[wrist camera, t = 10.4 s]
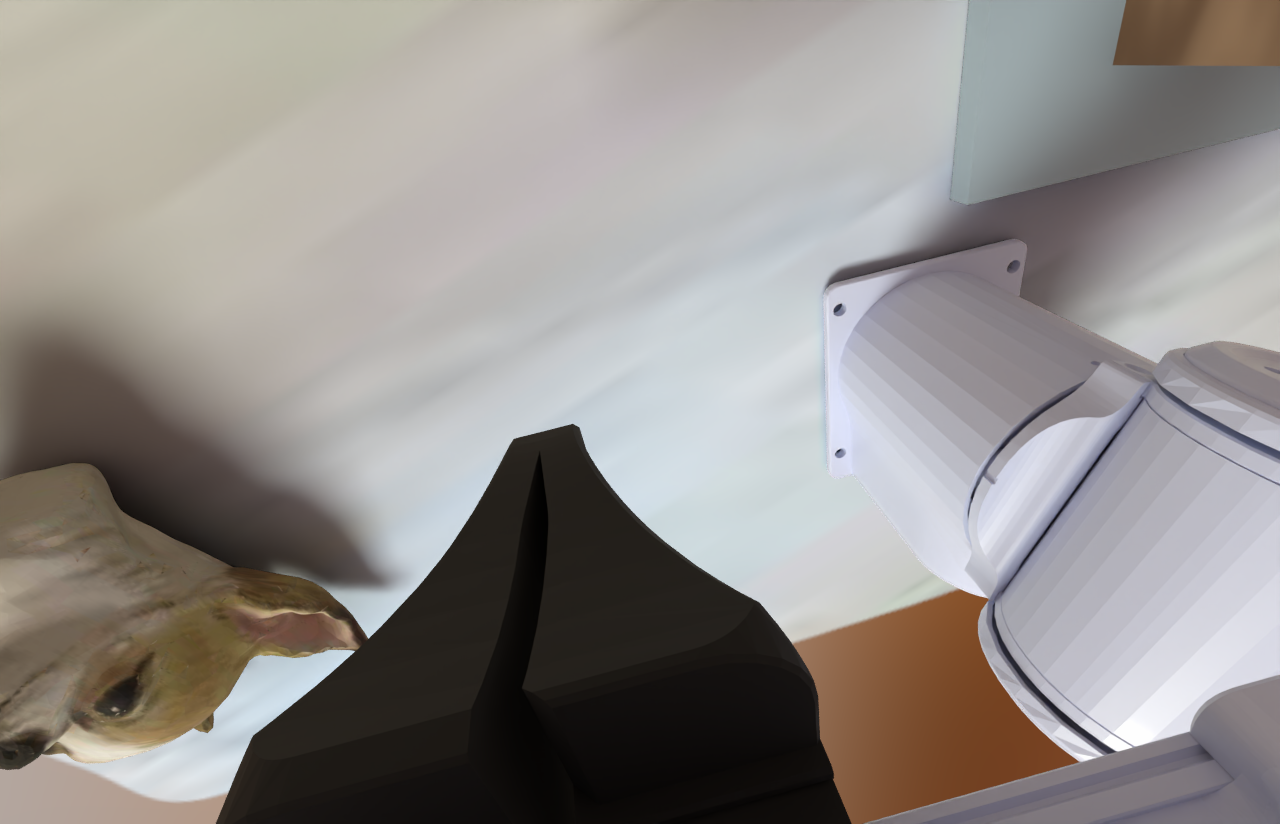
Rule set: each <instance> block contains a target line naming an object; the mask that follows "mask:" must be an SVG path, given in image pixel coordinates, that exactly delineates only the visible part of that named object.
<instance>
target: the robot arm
mask: <svg viewBox="0 0 1280 824" xmlns="http://www.w3.org/2000/svg"><path fill="white" fill-rule="evenodd" d="M1026 255H1027V245H1026V243H1025V242H1023V241H1020V240H1018V239H1010V240H1005V241H1001V242H997V243H993V244H989V245H985V246H981V247H977V248H973V249H969V250H965V251H961V252H957V253H953V254H949V255H945V256H941V257H937V258H933V259H929V260H924V261H920V262H916V263H912V264H908V265H904V266H900V267H896V268H892V269H888V270H884V271H880V272H876V273H872V274H868V275H864V276H860V277H856V278H852V279H847V280H843V281H839V282H835V283H833V284H831V285H830V286H829V287H828V288H827V289H826V290H825V292H824V296H823V309H824V355H825V401H826V448H827V471H828V473H829V474H830V475H831V476H832V477H833V478H836V479H838V478H843V477H847V476H851V475H853V476H854V477H855V478H856V480H857V481H858V482H859V484H860V485H861V486H862V487H863V489H864V490H865V491H866V493H867V494H868V495H869V496H870V498H871V499H872V500H873V502H874V503H875V504H876V506H877V507H878V508H879V509H880V511H881V512H882V513H883V515H884V516H885V517H886V519H887V520H888V521H889V522H890V524H891V525H892V526H893V528H894V529H895V530H896V532H897V533H898V534H899V535H900V537H901V538H902V539H903V541H904V542H905V543H906V545H907V546H908V547H909V548H910V550H911V551H912V552H913V554H914V555H915V556H916V557H917V559H918V560H919V561H920V562H921V563H922V564H923V565H924V566H925V567H926V568H927V569H928V570H930V571H931V572H932V573H933V574H935V575H936V576H938V577H939V578H941V579H942V580H944V581H946V582H947V583H949V584H951V585H953V586H955V587H957V588H959V589H961V590H964V591H966V592H969V593H972V594H974V595H978V596H981V597H986V598H988V599H989V601H988V602H987V604H986V605H985V606H984V608H983V609H982V610H981V614H980V618H979V621H978V635H979V639H980V642H981V646H982V649H983V652H984V654H985V656H986V658H987V660H988V663H989V665H990V666H991V668H992V670H993V671H994V673H995V675H996V676H997V678H998V679H999V681H1000V683H1001V684H1002V685H1003V687H1004V688H1005V689H1006V691H1007V692H1008V693H1009V695H1010V696H1011V698H1012V699H1013V700H1014V701H1015V703H1016V704H1017V705H1018V707H1019V708H1020V709H1021V710H1022V711H1023V712H1024V714H1025V715H1026V716H1028V718H1029V719H1030V720H1031V721H1032V722H1033V723H1034V724H1035V725H1036V726H1037V727H1038V728H1039V729H1040V730H1041V731H1042V732H1043V733H1044V734H1045V735H1047V736H1048V737H1049V738H1050V739H1051V740H1052V741H1054V742H1055V743H1056V744H1057V745H1058V746H1060V747H1061V748H1062V749H1063V750H1065V751H1066V752H1067V753H1069V754H1070V755H1071V756H1073V757H1074V758H1076V759H1077V760H1078V761H1080V762H1079V763H1076V764H1072V765H1069V766H1066V767H1062V768H1058V769H1055V770H1052V771H1048V772H1044V773H1041V774H1037V775H1033V776H1030V777H1026V778H1023V779H1019V780H1016V781H1013V782H1009V783H1005V784H1002V785H998V786H995V787H991V788H988V789H984V790H981V791H977V792H973V793H970V794H966V795H963V796H959V797H956V798H952V799H949V800H945V801H942V802H938V803H935V804H931V805H928V806H924V807H921V808H917V809H913V810H910V811H907V812H903V813H899V814H896V815H892V816H889V817H885V818H882V819H878V820H875V821H871V822H868V823H864V824H1280V353H1279V352H1275V351H1271V350H1267V349H1263V348H1259V347H1255V346H1250V345H1245V344H1240V343H1234V342H1227V341H1214V342H1210V343H1206V344H1202V345H1198V346H1194V347H1191V348H1179V349H1174V350H1170V351H1168V352H1167V353H1166V354H1165V355H1164V356H1163V358H1162V359H1161V361H1160V362H1159V363H1158V364H1157V363H1155V362H1153V361H1151V360H1149V359H1147V358H1145V357H1143V356H1140V355H1138V354H1136V353H1134V352H1132V351H1130V350H1128V349H1126V348H1124V347H1122V346H1120V345H1118V344H1116V343H1114V342H1112V341H1109V340H1107V339H1105V338H1103V337H1101V336H1099V335H1097V334H1095V333H1093V332H1091V331H1089V330H1087V329H1085V328H1083V327H1081V326H1078V325H1076V324H1074V323H1072V322H1070V321H1068V320H1066V319H1064V318H1062V317H1060V316H1058V315H1056V314H1054V313H1052V312H1050V311H1047V310H1045V309H1043V308H1041V307H1039V306H1037V305H1035V304H1033V303H1031V302H1029V301H1027V300H1025V299H1023V298H1021V297H1019V295H1020V289H1021V284H1022V278H1023V272H1024V266H1025V261H1026ZM1012 261H1013V263H1012V266H1011V267H1010V268H1009V269H1007V267H1008V265H1009V264H1010V263H1011V262H1012ZM838 304H842V306H841V309H840V310H839V311H838V312H836V313H833V310H834V308H835V306H836V305H838ZM839 449H842V450H841V451H840V452H838V453H836V451H837V450H839ZM818 706H819V705H818V695H817V691H816V687H815V683H814V680H813V678H812V676H811V674H810V672H809V670H808V668H807V667H806V665H805V663H804V662H803V660H802V658H801V657H800V655H799V654H798V652H797V650H796V649H795V648H794V646H793V645H792V643H791V642H790V640H789V639H788V638H787V636H786V635H785V634H784V632H783V631H782V630H781V628H780V627H779V626H778V624H777V623H776V622H775V621H774V620H773V618H772V617H771V616H770V615H769V613H768V612H767V611H766V610H765V609H764V607H763V606H762V605H761V604H760V603H759V602H757V601H755V600H753V599H752V598H750V597H748V596H746V595H744V594H742V593H740V592H738V591H737V590H735V589H733V588H731V587H730V586H728V585H726V584H725V583H723V582H721V581H719V580H718V579H716V578H715V577H713V576H712V575H710V574H709V573H707V572H705V571H704V570H702V569H701V568H699V567H698V566H696V565H695V564H693V563H692V562H691V561H689V560H688V559H687V558H685V557H684V556H683V555H681V554H680V553H679V552H678V551H676V550H675V549H674V548H672V547H671V546H670V545H668V544H667V543H666V542H664V541H663V540H662V539H661V538H660V537H659V536H657V535H656V534H655V533H654V532H653V531H652V530H651V529H650V528H648V527H647V526H646V525H645V524H644V523H643V522H642V521H641V520H640V519H639V518H638V517H637V516H636V515H635V514H634V513H633V512H632V511H631V510H630V509H629V508H628V506H627V505H626V504H625V503H624V502H623V501H622V500H621V499H620V497H619V496H618V495H617V494H616V493H615V491H614V490H613V489H612V488H611V486H610V485H609V484H608V483H607V481H606V480H605V478H604V477H603V476H602V474H601V473H600V471H599V470H598V468H597V467H596V465H595V464H594V462H593V461H592V459H591V457H590V456H589V454H588V452H587V450H586V447H585V444H584V441H583V438H582V434H581V431H580V428H579V427H577V426H575V425H574V424H571V425H567V426H563V427H559V428H555V429H551V430H547V431H543V432H539V433H535V434H531V435H527V436H524V437H520V438H516V439H513V441H512V443H511V444H510V446H509V448H508V450H507V452H506V453H505V455H504V457H503V459H502V461H501V463H500V465H499V467H498V469H497V471H496V473H495V474H494V476H493V478H492V480H491V482H490V484H489V485H488V487H487V489H486V491H485V492H484V494H483V496H482V498H481V499H480V501H479V503H478V505H477V506H476V508H475V510H474V511H473V513H472V515H471V516H470V518H469V519H468V521H467V522H466V524H465V525H464V527H463V528H462V530H461V531H460V533H459V534H458V536H457V537H456V539H455V540H454V542H453V543H452V545H451V546H450V548H449V549H448V550H447V552H446V553H445V554H444V556H443V557H442V558H441V560H440V561H439V562H438V563H437V565H436V566H435V567H434V568H433V570H432V571H431V572H430V573H429V575H428V576H427V577H426V578H425V579H424V581H423V582H422V583H421V584H420V585H419V587H418V588H417V589H416V590H415V591H414V592H413V593H412V594H411V595H410V596H409V597H408V598H407V600H406V601H405V602H404V603H403V604H402V605H401V606H400V607H399V608H398V609H397V610H396V611H395V612H394V613H393V615H392V616H391V617H390V618H389V619H388V620H387V621H386V622H385V623H384V624H383V625H382V626H381V627H380V628H379V629H378V630H377V631H376V632H375V633H374V634H373V635H372V636H371V637H370V638H369V639H368V640H367V641H366V642H365V643H364V644H363V645H362V646H360V647H359V648H358V649H357V650H356V651H355V652H354V653H353V654H352V655H351V656H350V657H349V658H347V659H346V660H345V661H344V662H343V663H342V664H341V665H340V666H339V667H337V668H336V669H335V670H334V671H333V672H332V673H331V674H329V675H328V676H327V677H326V678H325V679H324V680H322V681H321V682H320V683H319V684H318V685H317V686H315V687H314V688H313V689H312V690H310V691H309V692H308V693H307V694H305V695H304V696H303V697H302V698H300V699H299V700H298V701H297V702H295V703H294V704H293V705H292V706H290V707H289V708H288V709H287V710H285V711H284V712H283V713H282V714H280V715H279V716H278V717H277V718H275V719H274V720H273V721H272V722H270V723H269V724H268V725H267V726H265V727H264V728H263V729H261V730H260V731H259V732H257V733H256V734H255V735H253V737H252V739H251V741H250V743H249V746H248V748H247V750H246V752H245V755H244V757H243V759H242V762H241V764H240V766H239V768H238V771H237V773H236V776H235V778H234V781H233V783H232V785H231V788H230V790H229V793H228V795H227V798H226V800H225V803H224V805H223V808H222V810H221V812H220V815H219V817H218V820H217V822H216V824H851V821H850V819H849V817H848V814H847V812H846V809H845V807H844V805H843V802H842V800H841V797H840V795H839V793H838V790H837V788H836V786H835V783H834V781H833V778H834V773H833V769H832V766H831V763H830V761H829V759H828V756H827V754H826V752H825V749H824V747H823V744H822V742H821V740H820V730H819V707H818Z"/></svg>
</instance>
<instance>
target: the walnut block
mask: <svg viewBox="0 0 1280 824" xmlns="http://www.w3.org/2000/svg"><path fill="white" fill-rule="evenodd" d="M1113 65H1157V66H1280V0H1126V4H1125V9H1124V13H1123V18H1122V23H1121V28H1120V32H1119V37H1118V42H1117V47H1116V51H1115V56H1114V61H1113Z"/></svg>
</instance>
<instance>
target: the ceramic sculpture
mask: <svg viewBox="0 0 1280 824" xmlns="http://www.w3.org/2000/svg"><path fill="white" fill-rule="evenodd" d="M367 640H368V638H367V636H366V634H365V633H364V631H363V630H362V628H361V627H360V626H359V624H358V623H357V621H356V620H355V618H354V617H353V615H352V614H351V613H350V612H349V611H348V610H347V609H346V608H345V607H344V606H343V605H342V604H341V603H339V602H338V601H337V600H336V599H335V598H334V597H333V596H332V595H331V594H330V593H329V592H327V591H326V590H325V589H324V588H322V587H320V586H319V585H317V584H315V583H313V582H311V581H308V580H305V579H302V578H298V577H293V576H287V575H282V574H276V573H270V572H265V571H260V570H255V569H250V568H245V567H232V566H230V565H228V564H226V563H224V562H222V561H220V560H218V559H216V558H214V557H212V556H210V555H208V554H206V553H204V552H202V551H200V550H198V549H196V548H194V547H192V546H189V545H187V544H184V543H182V542H180V541H177V540H175V539H173V538H171V537H169V536H167V535H166V534H164V533H162V532H160V531H158V530H157V529H155V528H153V527H151V526H149V525H147V524H144V523H142V522H140V521H138V520H136V519H134V518H132V517H130V516H128V515H127V514H125V513H124V512H122V511H121V510H120V508H119V507H118V505H117V504H116V502H115V500H114V498H113V496H112V494H111V491H110V489H109V486H108V484H107V482H106V480H105V478H104V476H103V475H102V473H101V472H100V471H99V470H98V469H97V468H96V467H94V466H93V465H90V464H87V463H70V464H66V465H61V466H57V467H53V468H48V469H44V470H38V471H31V472H27V473H23V474H19V475H15V476H12V477H9V478H6V479H3V480H0V769H5V770H11V769H20V768H22V767H23V766H26V765H27V764H29V763H31V762H32V761H34V760H35V759H36V758H38V757H39V756H40V755H41V754H44V755H52V754H61V753H65V754H67V755H68V756H69V757H70V758H72V759H73V760H75V761H78V762H82V763H105V762H110V761H113V760H117V759H121V758H125V757H129V756H133V755H136V754H140V753H143V752H147V751H150V750H152V749H154V748H157V747H159V746H162V745H164V744H166V743H169V742H171V741H173V740H175V739H176V738H178V737H180V736H181V735H183V734H185V733H186V732H188V731H189V730H191V729H193V728H194V729H196V730H198V731H200V732H206V733H208V732H209V731H210V730H211V729H212V728H213V723H214V716H213V712H214V711H215V710H216V709H217V708H218V707H219V706H220V704H221V703H222V702H223V701H224V700H225V699H226V698H227V697H228V696H229V694H230V692H231V691H232V689H233V687H234V685H235V684H236V682H237V680H238V679H239V677H240V675H241V674H242V672H243V670H244V668H245V667H246V665H247V663H248V662H249V660H251V659H252V658H253V657H255V656H258V655H263V656H268V655H275V656H284V657H291V658H297V657H307V656H310V655H313V654H316V653H321V652H324V651H327V650H353V651H356V650H357V649H358V648H359V647H360V646H362V645H363V644H364V643H365V642H366V641H367Z"/></svg>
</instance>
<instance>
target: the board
mask: <svg viewBox="0 0 1280 824" xmlns="http://www.w3.org/2000/svg"><path fill="white" fill-rule="evenodd" d="M1125 4H1126V0H969V7H968V18H967V28H966V39H965V49H964V60H963V70H962V81H961V91H960V101H959V112H958V122H957V133H956V143H955V154H954V164H953V174H952V185H951V195H950V200H953V201H956V202H959V203H962V204H965V205H971V204H975V203H979V202H983V201H987V200H991V199H995V198H999V197H1003V196H1008V195H1012V194H1016V193H1020V192H1024V191H1028V190H1032V189H1036V188H1040V187H1044V186H1048V185H1053V184H1057V183H1061V182H1065V181H1069V180H1073V179H1077V178H1081V177H1085V176H1089V175H1093V174H1098V173H1102V172H1106V171H1110V170H1114V169H1118V168H1122V167H1126V166H1130V165H1134V164H1138V163H1143V162H1147V161H1151V160H1155V159H1159V158H1163V157H1167V156H1171V155H1175V154H1179V153H1183V152H1187V151H1192V150H1196V149H1200V148H1204V147H1208V146H1212V145H1216V144H1220V143H1224V142H1228V141H1232V140H1237V139H1241V138H1245V137H1249V136H1253V135H1257V134H1261V133H1265V132H1269V131H1273V130H1277V129H1280V66H1157V65H1113V61H1114V56H1115V51H1116V47H1117V42H1118V37H1119V32H1120V28H1121V23H1122V18H1123V13H1124V9H1125Z"/></svg>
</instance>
